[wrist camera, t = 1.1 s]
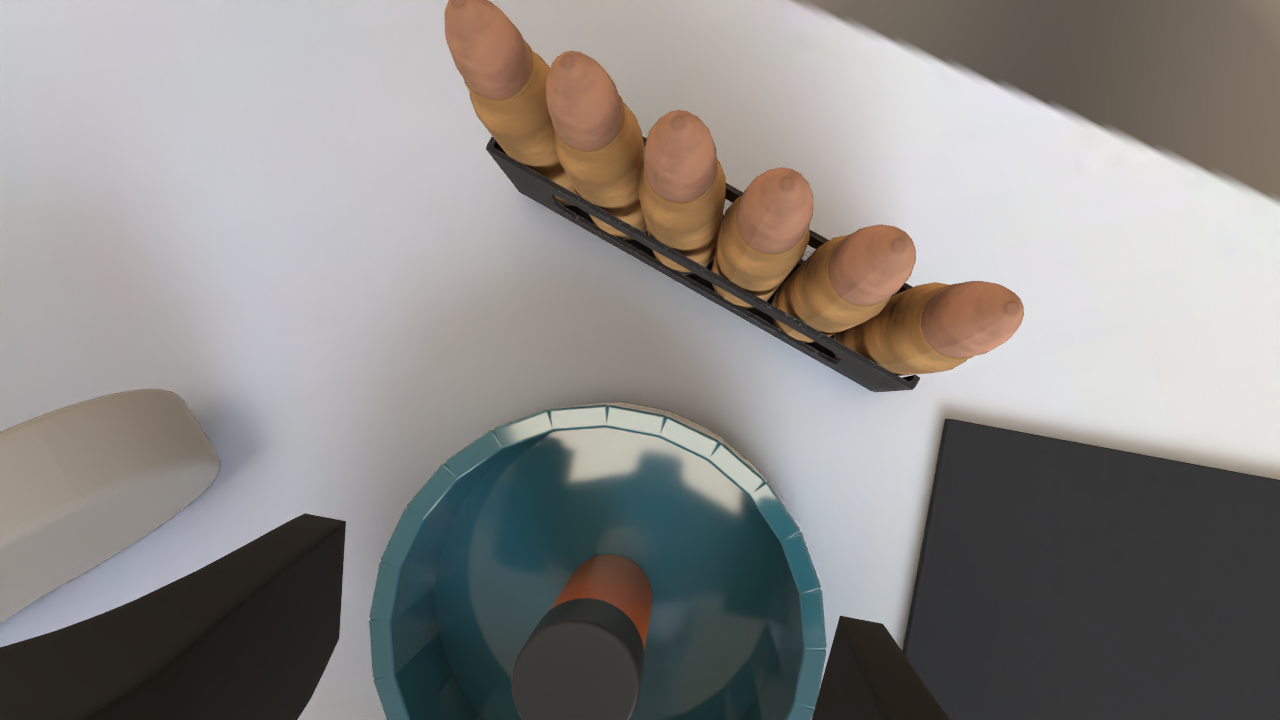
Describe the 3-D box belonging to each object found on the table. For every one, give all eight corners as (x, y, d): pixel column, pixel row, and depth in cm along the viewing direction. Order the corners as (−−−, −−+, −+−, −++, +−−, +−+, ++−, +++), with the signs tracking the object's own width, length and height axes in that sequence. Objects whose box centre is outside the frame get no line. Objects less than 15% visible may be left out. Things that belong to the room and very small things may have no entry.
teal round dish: (765, 824, 26) (779, 910, 21) (389, 745, 26) (330, 813, 22) (835, 441, 26) (863, 452, 22) (460, 371, 26) (415, 368, 22)
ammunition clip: (914, 331, 26) (1109, 283, 14) (878, 395, 26) (1041, 402, 14) (551, 127, 26) (432, -89, 14) (516, 189, 26) (367, 25, 14)
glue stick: (645, 652, 25) (626, 762, 18) (556, 634, 26) (499, 736, 18) (662, 561, 25) (650, 634, 18) (573, 544, 26) (524, 609, 18)
